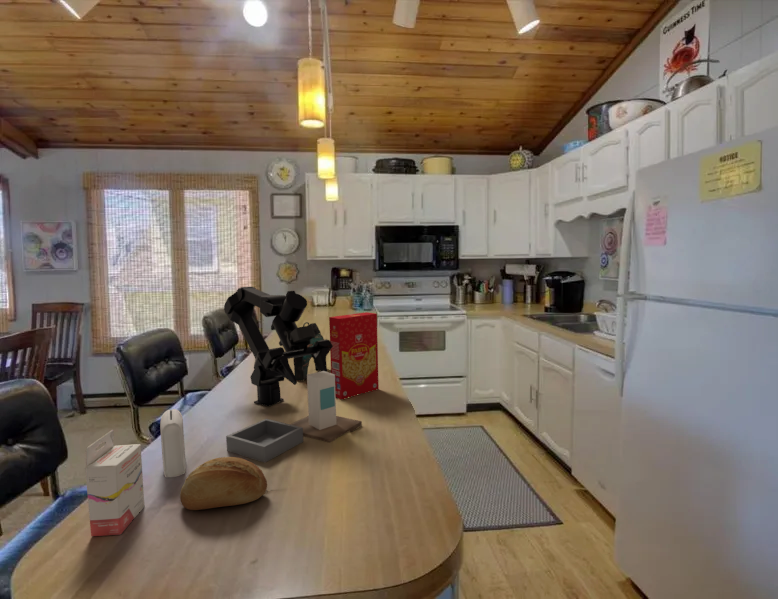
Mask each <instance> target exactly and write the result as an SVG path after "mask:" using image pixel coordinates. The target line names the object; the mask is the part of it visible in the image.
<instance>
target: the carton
mask: <svg viewBox="0 0 778 599" xmlns="http://www.w3.org/2000/svg"><path fill="white" fill-rule="evenodd" d="M306 382H307V384H306V385H307V387H306V389H307V403H308V404H307V409H308V416H309V425H311V426H313V427H315V428H317V429H319V430H321V429H324V428H327V427H331V426H334V425H337V424H336V416H337V402H336V401H337V399H336V395H335V374H332V373H331V372H328V371H327V372H326V371H321V372H320V371H317V372H313V373H309V374H308V373H307V379H306Z"/></svg>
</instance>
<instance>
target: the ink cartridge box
mask: <svg viewBox="0 0 778 599" xmlns="http://www.w3.org/2000/svg"><path fill="white" fill-rule="evenodd" d="M114 436H115V430H114V429H111V430H110V431H108V432H107V433H106V434H104V435H103V436H101V437H100V438H98V439H97V440H95V441H94V442H92V443H91V444H90V445H88V446H87V447H86V450H85V468H84V469H85V482H86V493H87V504H88V513H89V528H90V536H91V537H101V536H117V535H122V534H123V533H124V532H125V530H126V529H127V528H128V527H129V525H130V524H131V523H132V522H133V521H134V520H135V518H136V517H137V516H138V515H139V514H140V513H139V512H142V510H143V509H144V508H145V494H144V493H145V492H144V490H145V489H144V478H143V477H144V476H143V461H142V444H140V443H137V444H136V443H135V444H134V443H133V444H132V443H131V444H121V445H118V444H117V445H114V440H115V439H114V438H115V437H114ZM101 444H104V445H103V446H102V447H100V445H101ZM98 447H100V448H99V449H97V448H98ZM133 519H134V520H133ZM132 520H133V521H132Z"/></svg>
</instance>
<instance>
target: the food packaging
mask: <svg viewBox="0 0 778 599" xmlns="http://www.w3.org/2000/svg"><path fill="white" fill-rule="evenodd" d="M328 317H329V318H328V320H329V323H328V324H329V340H330V342H331V343H332V345H333V347H332V348H331V350H330V351H329V353H330V354H329V355H330V373H332V374H335V395H336V397H337V399H338V398H340V399H339V400H341V399H343V400H345V399H344V398H346V399H349V398H348V397H350V398H352V397H351V396H353V397H355V396H354V395H357V394H361V393H364V394H366V393H365V392H368V391H371V392H373V391H372V390H375V391H377V390H376V389H378V390H379V389H380V387H379V385H380V384H379V351H378V350H379V348H378V346H379V345H378V313H373V312H367V311H366V312H358V313H350V314H344V315H343V314H342V315H336V316H328ZM368 393H369V392H368ZM361 395H362V394H361ZM357 396H358V395H357Z"/></svg>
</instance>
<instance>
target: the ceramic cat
mask: <svg viewBox="0 0 778 599" xmlns="http://www.w3.org/2000/svg"><path fill="white" fill-rule="evenodd" d="M306 324H307V326H308V325H310V322H308V321H305V322H304V323H303V325H302V327H304V326H306ZM320 340H325V338H324V336H323V335H322V333H321V330H320V329H319V334H317V335H316V336H315V338H312V339H310V344H309V345H307V347H308V348H309V347H313V346H314V344H315V343H316V341H320ZM292 359H293V366H294V367H293V369H294V372H293V373H294V375H295V378H296V380H297V381H299V380H304V381H305V379H306V380H307V375H308V373H309V372H308V370H309V366H310V362H311V359H313V361H314V360H315V359H314V358H312V356H311V355H306V356H301V357H296V358H292ZM314 368H315V369H318V367H317V366H316V364H315V363H314ZM315 369H314V370H315ZM317 371H320V370H319V369H318V370H317Z"/></svg>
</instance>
